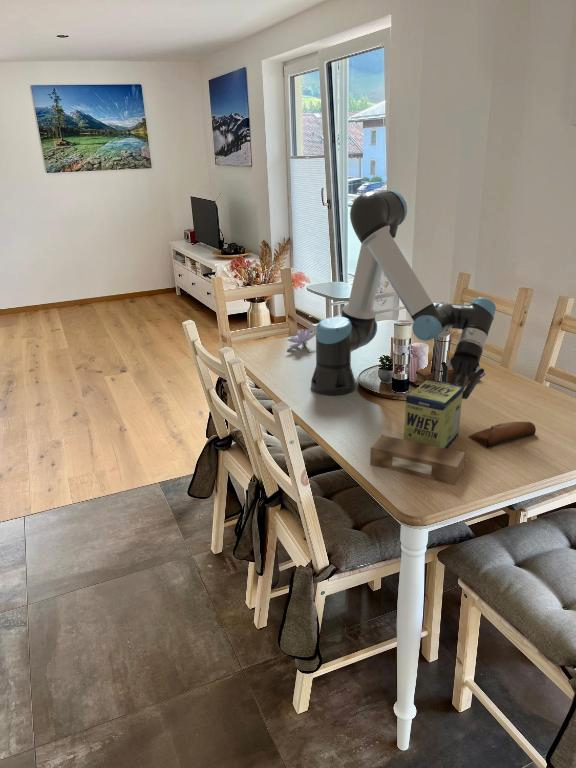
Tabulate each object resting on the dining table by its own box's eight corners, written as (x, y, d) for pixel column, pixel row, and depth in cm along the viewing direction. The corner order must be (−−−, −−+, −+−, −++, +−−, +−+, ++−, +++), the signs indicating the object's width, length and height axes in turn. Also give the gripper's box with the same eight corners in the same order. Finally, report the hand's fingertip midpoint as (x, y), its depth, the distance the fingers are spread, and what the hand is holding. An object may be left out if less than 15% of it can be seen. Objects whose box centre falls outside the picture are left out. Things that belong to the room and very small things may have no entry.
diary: (424, 391, 199) (425, 375, 197) (393, 374, 215) (393, 359, 212) (478, 379, 208) (479, 364, 205) (443, 363, 223) (445, 349, 221)
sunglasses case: (512, 423, 174) (524, 409, 169) (527, 442, 170) (539, 428, 165) (466, 437, 166) (476, 423, 161) (480, 457, 162) (492, 444, 157)
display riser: (369, 464, 153) (370, 447, 151) (381, 451, 159) (381, 434, 157) (455, 485, 143) (456, 467, 141) (463, 470, 149) (465, 452, 147)
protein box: (402, 448, 161) (405, 396, 155) (424, 427, 172) (427, 377, 167) (439, 458, 155) (443, 404, 149) (459, 435, 167) (464, 385, 161)
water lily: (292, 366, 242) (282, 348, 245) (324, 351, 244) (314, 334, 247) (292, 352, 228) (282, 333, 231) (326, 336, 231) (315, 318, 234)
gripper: (446, 336, 176) (421, 407, 169) (490, 343, 169) (466, 417, 162) (451, 348, 182) (427, 417, 175) (494, 355, 175) (471, 427, 168)
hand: (446, 417), depth 169 cm, fingers closed
